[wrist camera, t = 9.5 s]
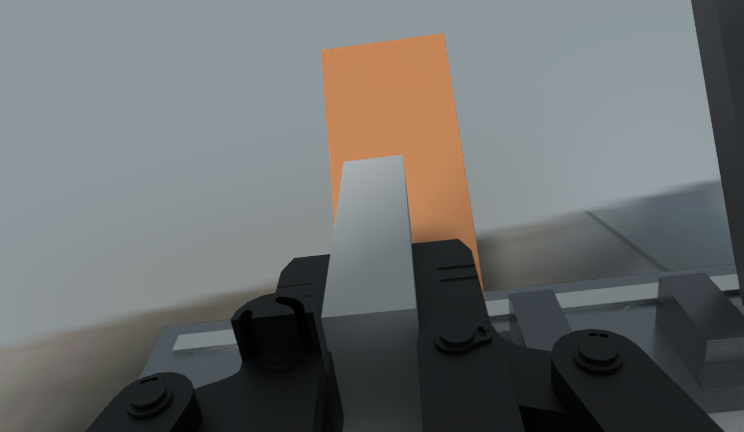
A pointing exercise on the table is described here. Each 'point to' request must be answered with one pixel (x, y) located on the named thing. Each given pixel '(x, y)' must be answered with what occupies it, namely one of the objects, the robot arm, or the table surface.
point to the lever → (402, 129)
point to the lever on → (726, 105)
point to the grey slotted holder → (567, 331)
